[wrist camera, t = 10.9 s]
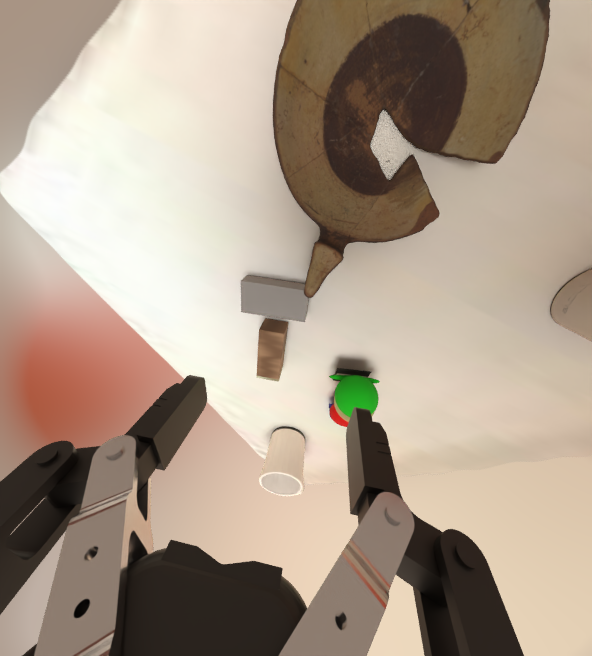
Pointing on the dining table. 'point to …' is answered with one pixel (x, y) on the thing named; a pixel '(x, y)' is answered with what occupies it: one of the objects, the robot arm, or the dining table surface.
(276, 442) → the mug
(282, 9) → the dining table surface
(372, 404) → the toy
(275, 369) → the block
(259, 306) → the hammer head
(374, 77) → the oil lamp
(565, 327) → the robot arm
